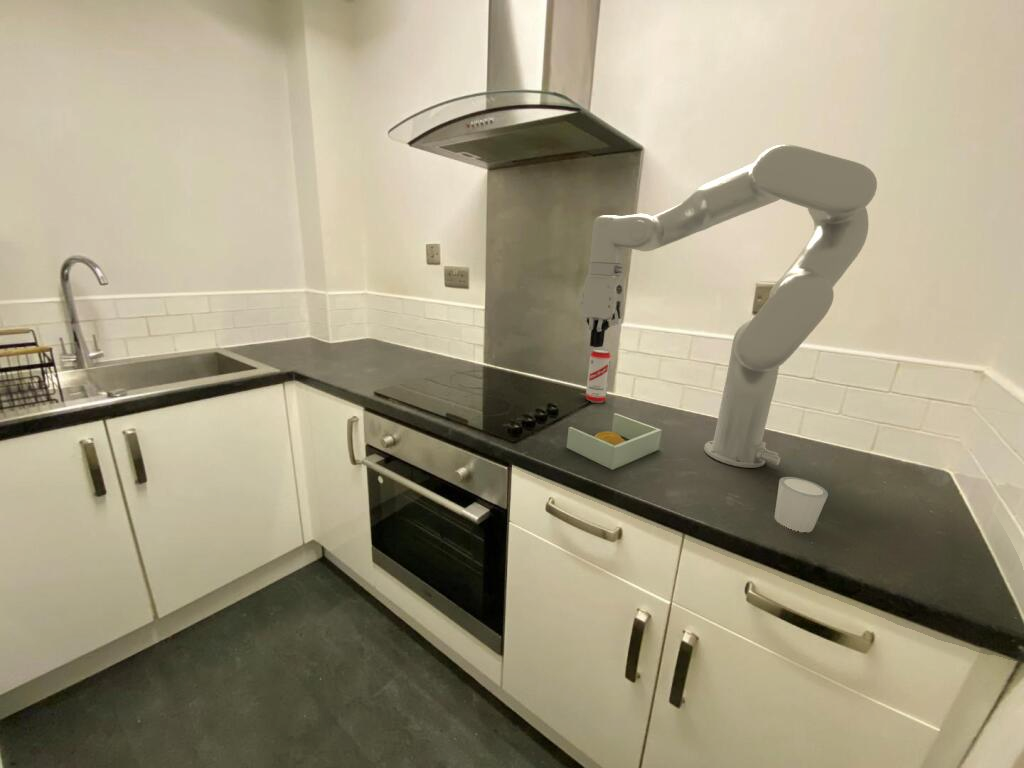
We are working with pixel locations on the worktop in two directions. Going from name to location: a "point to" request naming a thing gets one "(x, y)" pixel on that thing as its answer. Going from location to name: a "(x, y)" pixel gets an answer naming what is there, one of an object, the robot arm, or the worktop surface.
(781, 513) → the white cup
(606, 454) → the box
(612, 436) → the bread roll
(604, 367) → the beer can
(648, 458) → the worktop surface
